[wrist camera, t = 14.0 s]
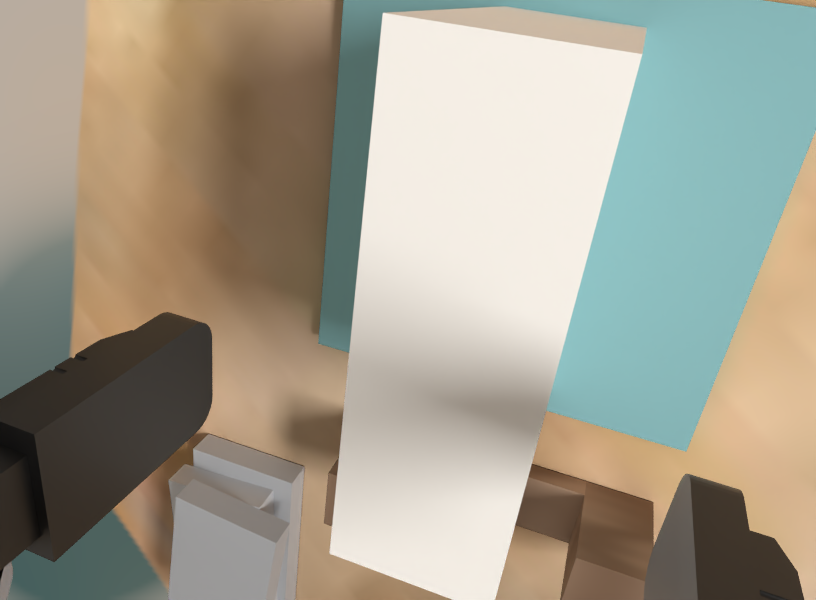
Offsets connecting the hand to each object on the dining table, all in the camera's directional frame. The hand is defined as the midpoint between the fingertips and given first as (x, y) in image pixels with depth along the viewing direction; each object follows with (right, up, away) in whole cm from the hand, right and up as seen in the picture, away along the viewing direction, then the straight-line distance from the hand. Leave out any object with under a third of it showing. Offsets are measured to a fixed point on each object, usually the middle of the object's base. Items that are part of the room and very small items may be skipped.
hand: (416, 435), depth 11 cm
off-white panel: (+4, +5, +10) cm, 12 cm away
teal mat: (+4, +5, +11) cm, 13 cm away
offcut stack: (-8, -10, +22) cm, 26 cm away
